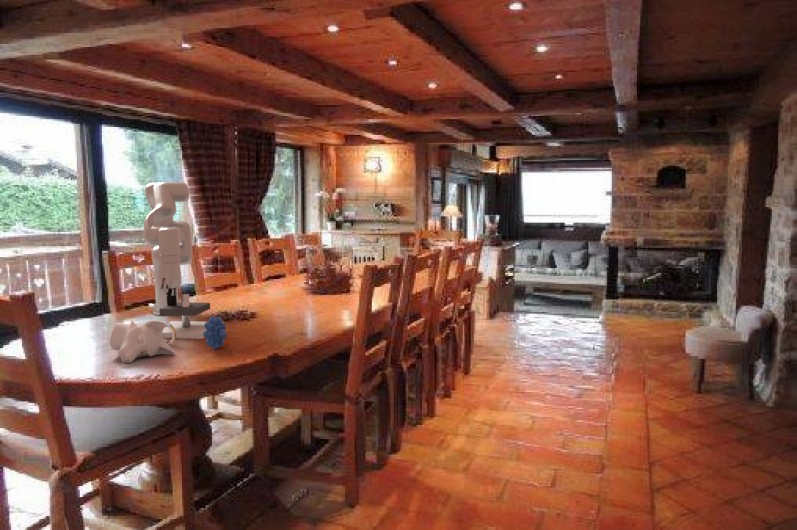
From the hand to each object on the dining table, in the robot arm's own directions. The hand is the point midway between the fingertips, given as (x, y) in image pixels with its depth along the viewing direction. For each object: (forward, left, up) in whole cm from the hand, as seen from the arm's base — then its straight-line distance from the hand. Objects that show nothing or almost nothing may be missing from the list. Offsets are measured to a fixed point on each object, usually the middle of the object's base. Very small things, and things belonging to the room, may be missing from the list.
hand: (172, 305), depth 216 cm
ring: (+7, -19, -11) cm, 23 cm away
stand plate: (+5, 0, -11) cm, 12 cm away
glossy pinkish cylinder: (+6, 0, -9) cm, 10 cm away
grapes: (+28, -24, -11) cm, 39 cm away
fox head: (+7, -36, -11) cm, 39 cm away
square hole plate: (+6, 0, -3) cm, 6 cm away
